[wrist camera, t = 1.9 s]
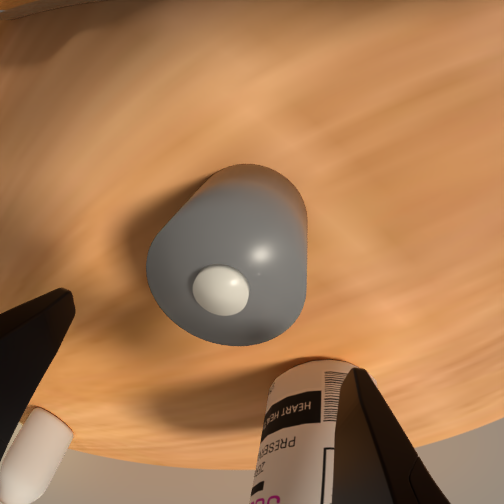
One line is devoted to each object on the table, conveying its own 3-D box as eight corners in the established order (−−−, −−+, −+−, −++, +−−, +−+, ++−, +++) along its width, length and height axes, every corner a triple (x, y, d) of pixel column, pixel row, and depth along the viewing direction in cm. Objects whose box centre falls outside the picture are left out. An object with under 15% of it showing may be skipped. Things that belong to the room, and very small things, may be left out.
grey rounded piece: (320, 180, 15) (328, 240, 10) (291, 280, 18) (282, 366, 13) (200, 153, 15) (143, 197, 10) (188, 255, 19) (143, 329, 13)
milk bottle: (33, 399, 36) (-25, 497, 19) (75, 427, 37) (24, 532, 20) (36, 415, 40) (-13, 502, 22) (74, 440, 41) (30, 531, 23)
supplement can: (374, 411, 23) (378, 578, 11) (279, 418, 25) (252, 579, 13) (380, 347, 20) (398, 574, 7) (259, 358, 22) (213, 572, 9)
